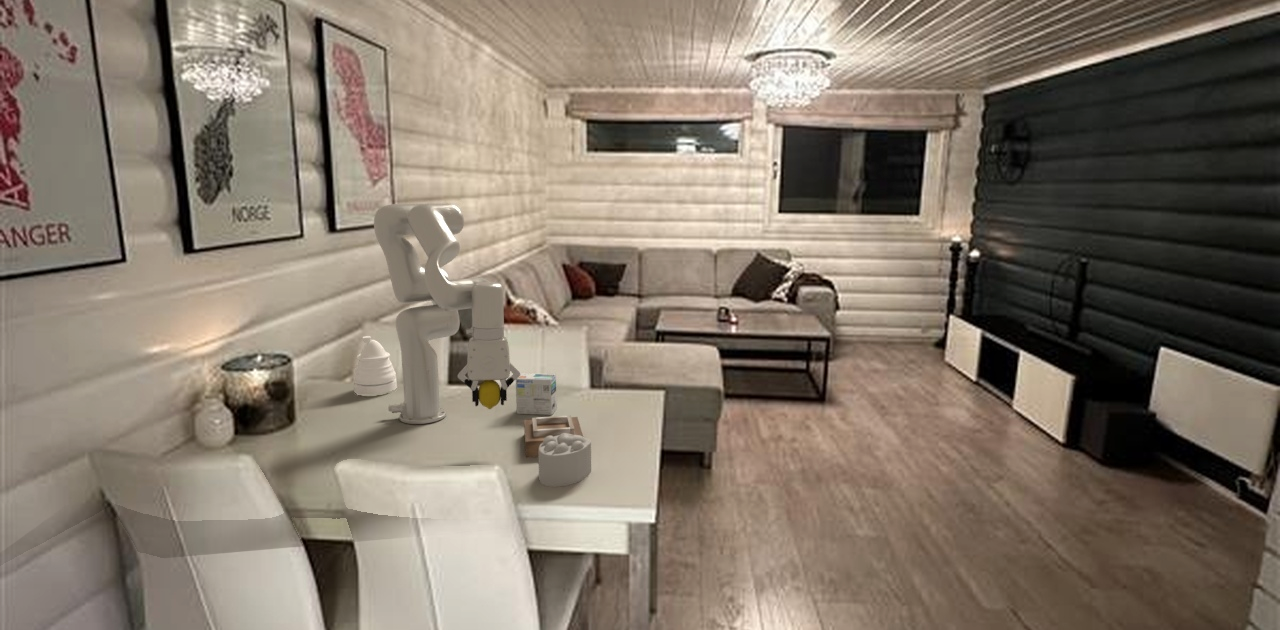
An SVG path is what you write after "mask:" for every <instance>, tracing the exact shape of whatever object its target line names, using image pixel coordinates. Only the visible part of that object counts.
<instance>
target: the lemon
mask: <svg viewBox="0 0 1280 630" xmlns="http://www.w3.org/2000/svg"><path fill="white" fill-rule="evenodd" d="M478 398H479V403H480V404H481V405H482V406H483V407H486V408H487V409H488V410H492V409H493V408H494V407H496V406H497V405H498V404H499V403H500V402H501V387H500V385H499V383H498V381H497V380H482V382H481V383H480V385H479V386H478Z"/></svg>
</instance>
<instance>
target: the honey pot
mask: <svg viewBox="0 0 1280 630" xmlns="http://www.w3.org/2000/svg"><path fill="white" fill-rule="evenodd" d="M362 341H363V342H364V343H365V345H364V346H363V348H362V350H361V353H359V354H358V355H356V360H358V361H357V363H356V364H357V365H356V367H355V371H354V375H353V391H354V392H355V393H358V394H374V393H383V392H388V391H392V390H395V389H396V388H397V389H398V382H397V373H396V371H395V369H394V366H393V363H392V362H391V359H390V357H391V354H390V352H387V351H386V350H385V348H384V347H383V345H382V344H381V343H380V342H379V341H377V340H375V339H372V336H371V335H366V336H365V335H364V336H362ZM355 393H354V394H355Z"/></svg>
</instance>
